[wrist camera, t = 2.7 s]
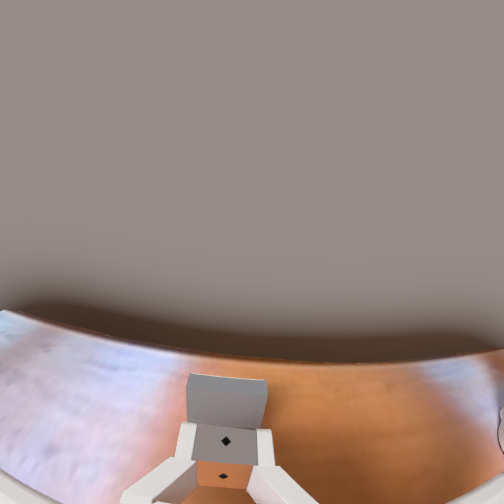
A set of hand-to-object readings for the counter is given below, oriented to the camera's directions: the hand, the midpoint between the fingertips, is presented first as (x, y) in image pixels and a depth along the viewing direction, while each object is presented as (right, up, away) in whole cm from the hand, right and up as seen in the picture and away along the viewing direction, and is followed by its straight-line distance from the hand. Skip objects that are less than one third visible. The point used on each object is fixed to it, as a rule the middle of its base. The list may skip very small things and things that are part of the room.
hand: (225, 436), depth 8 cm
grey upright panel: (-2, -16, +18) cm, 24 cm away
